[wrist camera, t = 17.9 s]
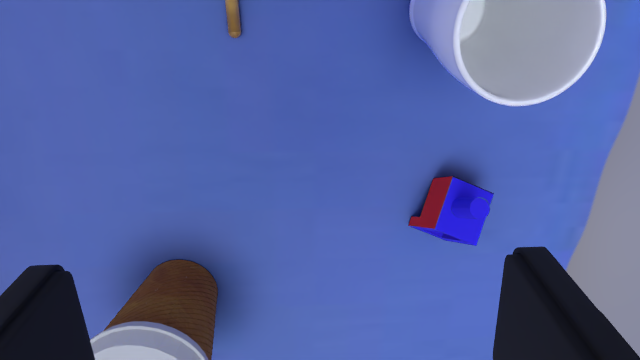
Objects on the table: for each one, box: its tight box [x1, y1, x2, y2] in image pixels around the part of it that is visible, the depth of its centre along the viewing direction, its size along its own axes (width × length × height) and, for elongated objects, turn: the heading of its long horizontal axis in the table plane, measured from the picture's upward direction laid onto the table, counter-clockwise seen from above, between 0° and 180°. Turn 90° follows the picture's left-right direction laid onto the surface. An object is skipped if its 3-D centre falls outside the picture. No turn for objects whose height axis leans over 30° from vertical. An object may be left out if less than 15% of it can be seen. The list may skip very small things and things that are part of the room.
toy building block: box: [408, 176, 494, 246], centre depth 38 cm, size 4×4×8 cm
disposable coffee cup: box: [90, 260, 218, 360], centre depth 39 cm, size 10×10×12 cm
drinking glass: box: [409, 0, 606, 106], centre depth 28 cm, size 7×7×15 cm
